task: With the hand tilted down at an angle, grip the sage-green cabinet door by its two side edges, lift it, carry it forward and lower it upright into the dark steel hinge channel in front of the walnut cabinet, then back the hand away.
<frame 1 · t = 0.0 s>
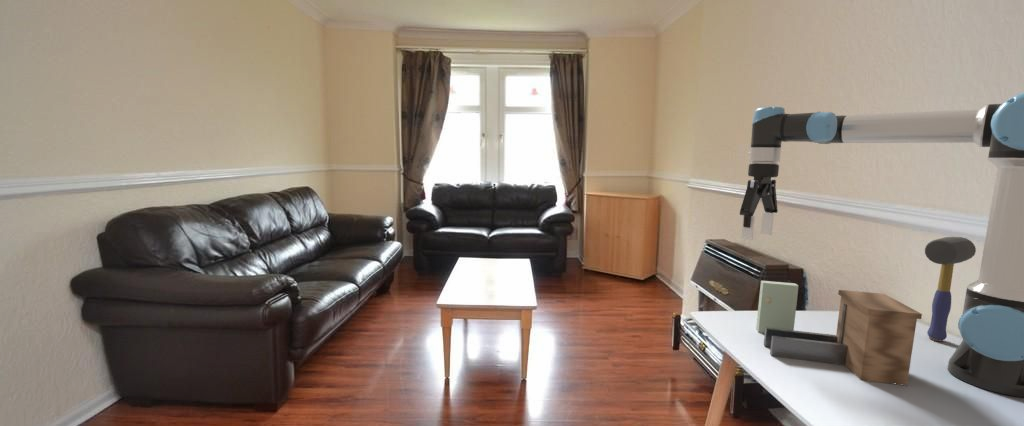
hand: (756, 236, 128), 28 cm above the table, tool pointing down, fingers open, 13 cm apart
rubber mallet: (935, 340, 126), on the table
cabinet door: (774, 332, 129), on the table
hinge channel: (790, 353, 115), on the table
walnut cabinet: (872, 335, 106), on the table
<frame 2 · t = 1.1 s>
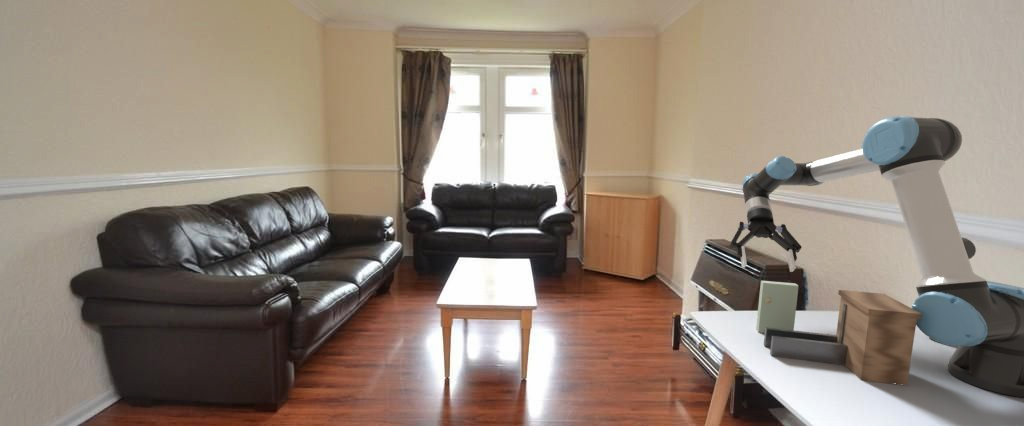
hand: (768, 267, 136), 17 cm above the table, tool tilted 45°, fingers open, 13 cm apart
nothing on the table moved.
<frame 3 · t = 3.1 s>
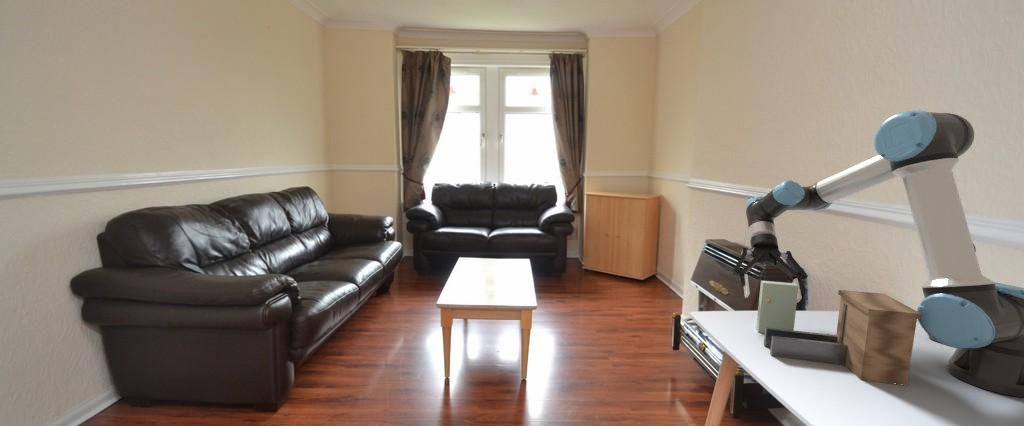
hand: (772, 297, 130), 10 cm above the table, tool tilted 45°, fingers open, 13 cm apart
nothing on the table moved.
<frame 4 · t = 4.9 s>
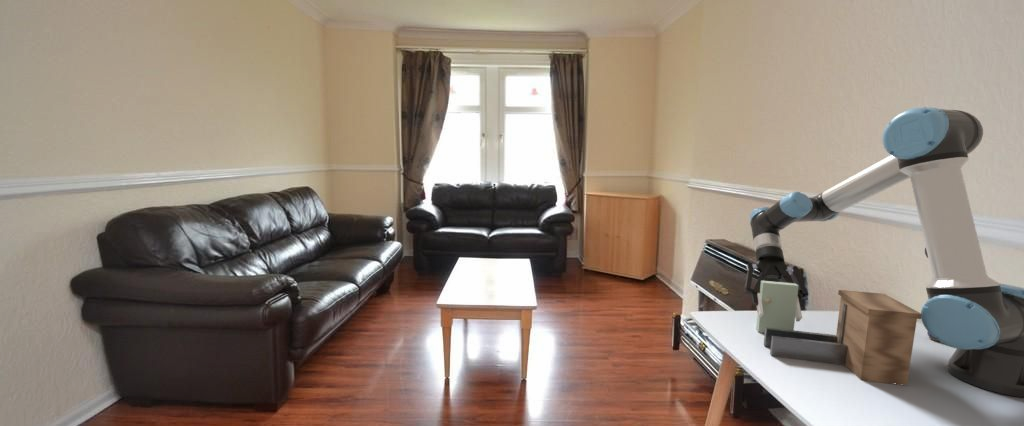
hand: (779, 317, 125), 6 cm above the table, tool tilted 45°, fingers closed on cabinet door, 9 cm apart
cabinet door: (774, 332, 129), on the table, touching gripper
everything else where it was.
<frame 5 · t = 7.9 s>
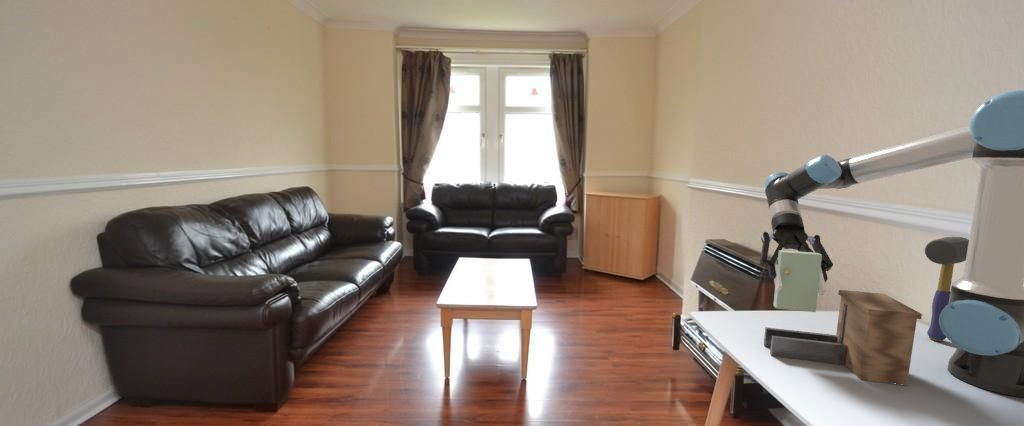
hand: (800, 290, 111), 18 cm above the table, tool tilted 45°, fingers closed on cabinet door, 9 cm apart
cabinet door: (794, 308, 115), point 12 cm above the table, touching gripper
everything else where it was.
when the fingers open (7 cm above the table, at t = 11.0 s): cabinet door drops 1 cm, resting in hinge channel.
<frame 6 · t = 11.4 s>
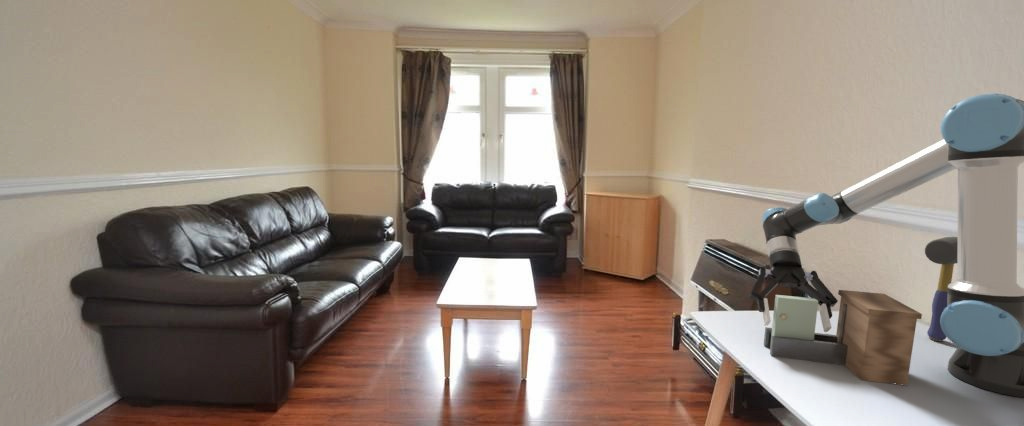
hand: (797, 326, 112), 8 cm above the table, tool tilted 45°, fingers open, 13 cm apart
cabinet door: (790, 353, 115), resting in hinge channel
everything else where it was.
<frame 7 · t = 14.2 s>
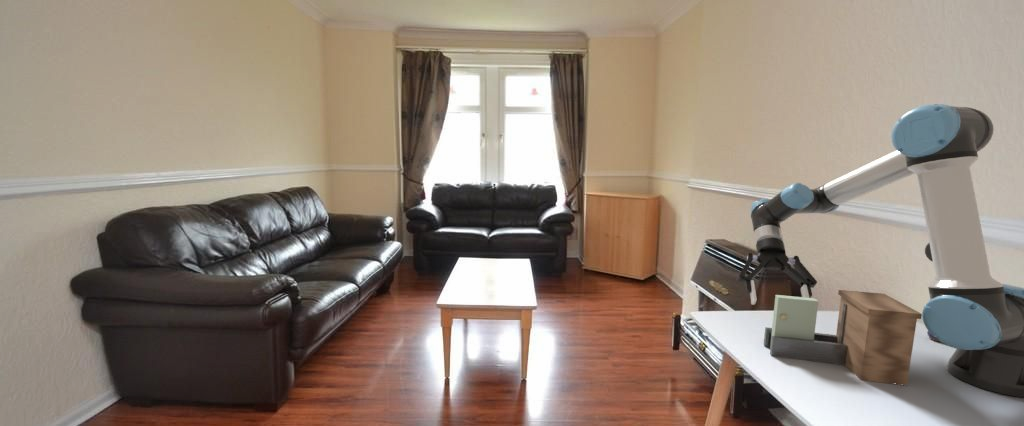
hand: (780, 305, 124), 9 cm above the table, tool tilted 45°, fingers open, 13 cm apart
nothing on the table moved.
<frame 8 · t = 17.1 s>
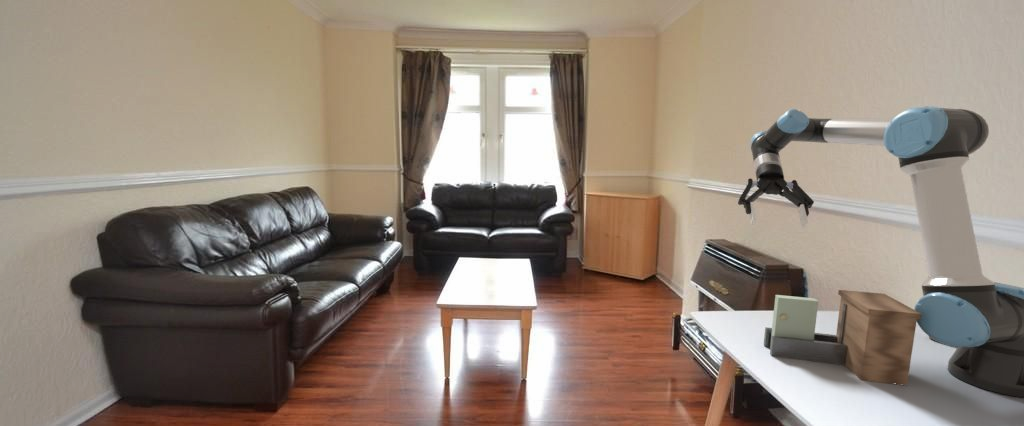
hand: (778, 223, 130), 32 cm above the table, tool tilted 45°, fingers open, 13 cm apart
nothing on the table moved.
at the end: cabinet door 0.1 cm off-centre on the hinge channel, point 0.0 cm above the hinge channel's base; cabinet door tilted 0°; the gripper is holding nothing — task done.
